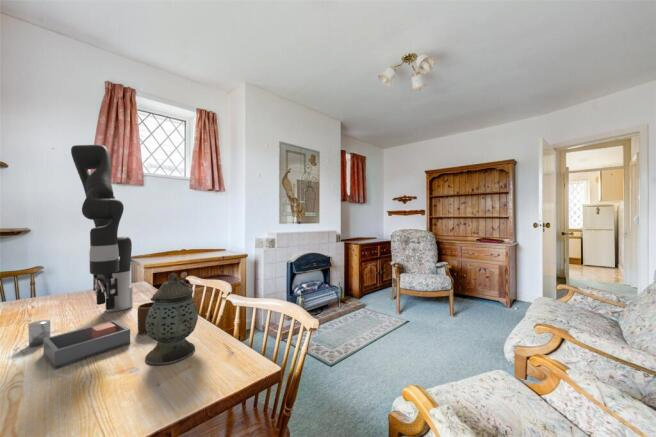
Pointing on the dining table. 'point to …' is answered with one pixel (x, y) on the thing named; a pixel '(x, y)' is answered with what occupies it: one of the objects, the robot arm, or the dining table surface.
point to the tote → (83, 345)
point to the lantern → (171, 322)
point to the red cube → (103, 330)
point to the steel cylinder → (38, 332)
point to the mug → (143, 316)
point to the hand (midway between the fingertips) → (105, 306)
